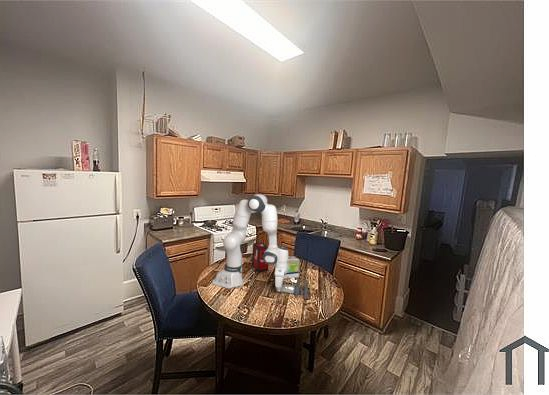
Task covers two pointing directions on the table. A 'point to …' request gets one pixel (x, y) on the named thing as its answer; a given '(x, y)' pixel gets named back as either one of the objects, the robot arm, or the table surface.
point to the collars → (305, 288)
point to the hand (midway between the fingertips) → (280, 287)
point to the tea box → (292, 267)
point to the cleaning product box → (259, 257)
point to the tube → (289, 289)
